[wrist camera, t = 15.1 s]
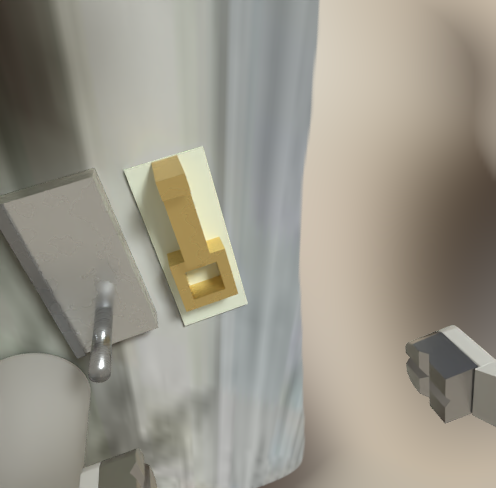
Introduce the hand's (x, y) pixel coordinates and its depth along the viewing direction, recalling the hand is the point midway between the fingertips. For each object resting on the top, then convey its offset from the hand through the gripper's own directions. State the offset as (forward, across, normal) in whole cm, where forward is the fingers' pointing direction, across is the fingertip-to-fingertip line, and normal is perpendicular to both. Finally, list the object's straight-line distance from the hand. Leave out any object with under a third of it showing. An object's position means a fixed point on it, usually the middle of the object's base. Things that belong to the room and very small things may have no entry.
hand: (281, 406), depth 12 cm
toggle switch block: (+33, +12, +9) cm, 36 cm away
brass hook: (+33, +1, +9) cm, 34 cm away
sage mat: (+33, +1, +11) cm, 35 cm away
